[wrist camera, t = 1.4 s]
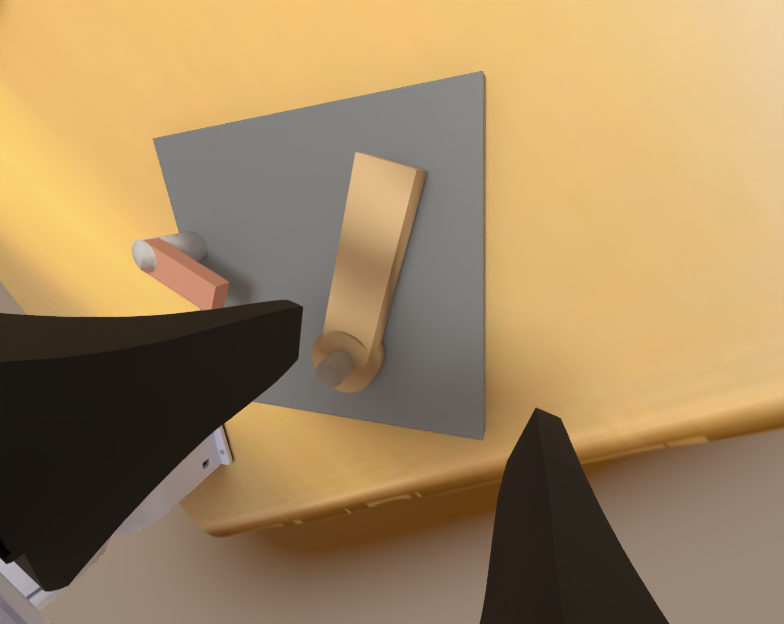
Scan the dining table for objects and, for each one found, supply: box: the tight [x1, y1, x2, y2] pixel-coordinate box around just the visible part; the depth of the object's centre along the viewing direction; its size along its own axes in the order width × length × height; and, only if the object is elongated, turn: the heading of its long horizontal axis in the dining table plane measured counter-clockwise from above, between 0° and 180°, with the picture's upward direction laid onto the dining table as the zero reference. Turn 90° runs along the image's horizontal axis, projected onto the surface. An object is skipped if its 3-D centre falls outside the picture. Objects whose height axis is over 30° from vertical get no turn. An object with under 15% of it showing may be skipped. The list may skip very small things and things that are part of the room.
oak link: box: [312, 152, 427, 393], centre depth 18 cm, size 13×4×3 cm, turn 165°
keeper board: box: [132, 71, 485, 440], centre depth 20 cm, size 19×20×5 cm
